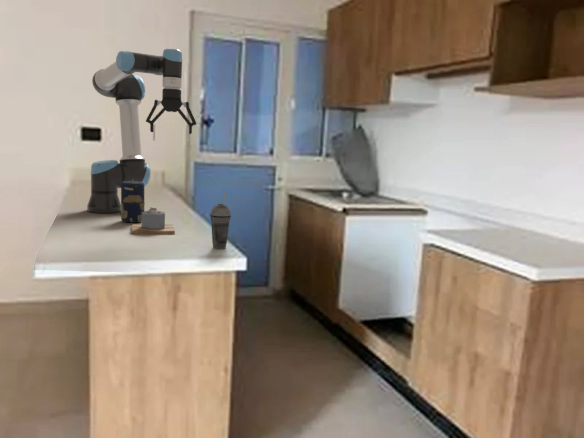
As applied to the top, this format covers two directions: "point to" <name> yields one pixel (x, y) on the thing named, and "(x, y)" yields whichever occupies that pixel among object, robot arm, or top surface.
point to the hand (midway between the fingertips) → (170, 141)
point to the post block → (138, 230)
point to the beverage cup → (220, 225)
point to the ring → (153, 220)
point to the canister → (132, 201)
